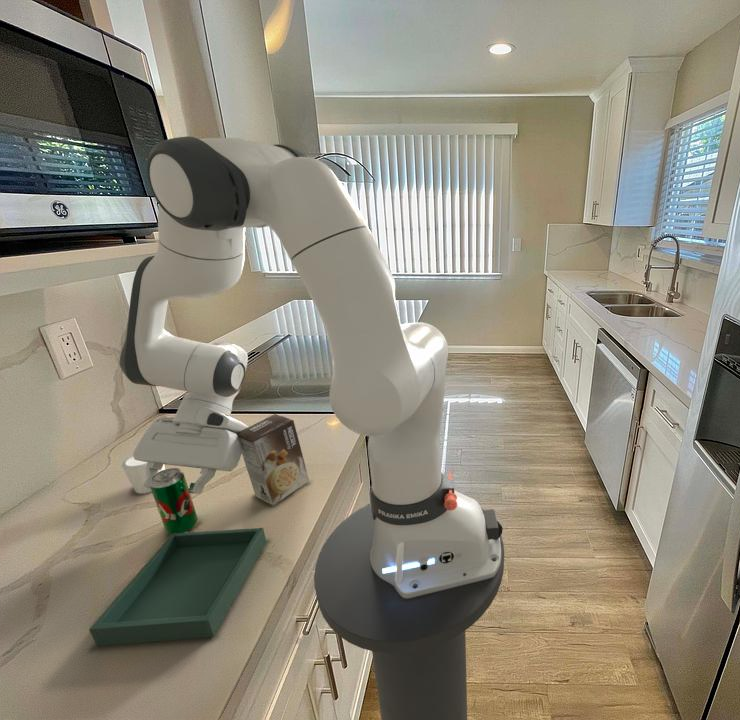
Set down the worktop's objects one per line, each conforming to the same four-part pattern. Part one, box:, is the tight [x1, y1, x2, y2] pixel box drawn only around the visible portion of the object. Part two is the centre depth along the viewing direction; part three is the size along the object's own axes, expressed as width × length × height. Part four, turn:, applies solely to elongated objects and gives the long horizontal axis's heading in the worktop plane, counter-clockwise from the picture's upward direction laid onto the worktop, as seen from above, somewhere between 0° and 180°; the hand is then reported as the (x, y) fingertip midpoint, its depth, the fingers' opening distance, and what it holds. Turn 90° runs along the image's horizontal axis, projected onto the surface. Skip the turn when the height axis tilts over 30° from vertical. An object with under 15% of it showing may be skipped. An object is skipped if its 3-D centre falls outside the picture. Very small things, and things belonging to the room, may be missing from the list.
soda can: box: [150, 467, 199, 536], centre depth 74 cm, size 5×5×12 cm
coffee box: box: [236, 413, 310, 506], centre depth 83 cm, size 9×6×16 cm
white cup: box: [121, 455, 166, 494], centre depth 87 cm, size 7×7×7 cm
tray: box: [88, 527, 267, 647], centre depth 63 cm, size 16×18×3 cm
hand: (171, 490), depth 74 cm, fingers open, 8 cm apart
